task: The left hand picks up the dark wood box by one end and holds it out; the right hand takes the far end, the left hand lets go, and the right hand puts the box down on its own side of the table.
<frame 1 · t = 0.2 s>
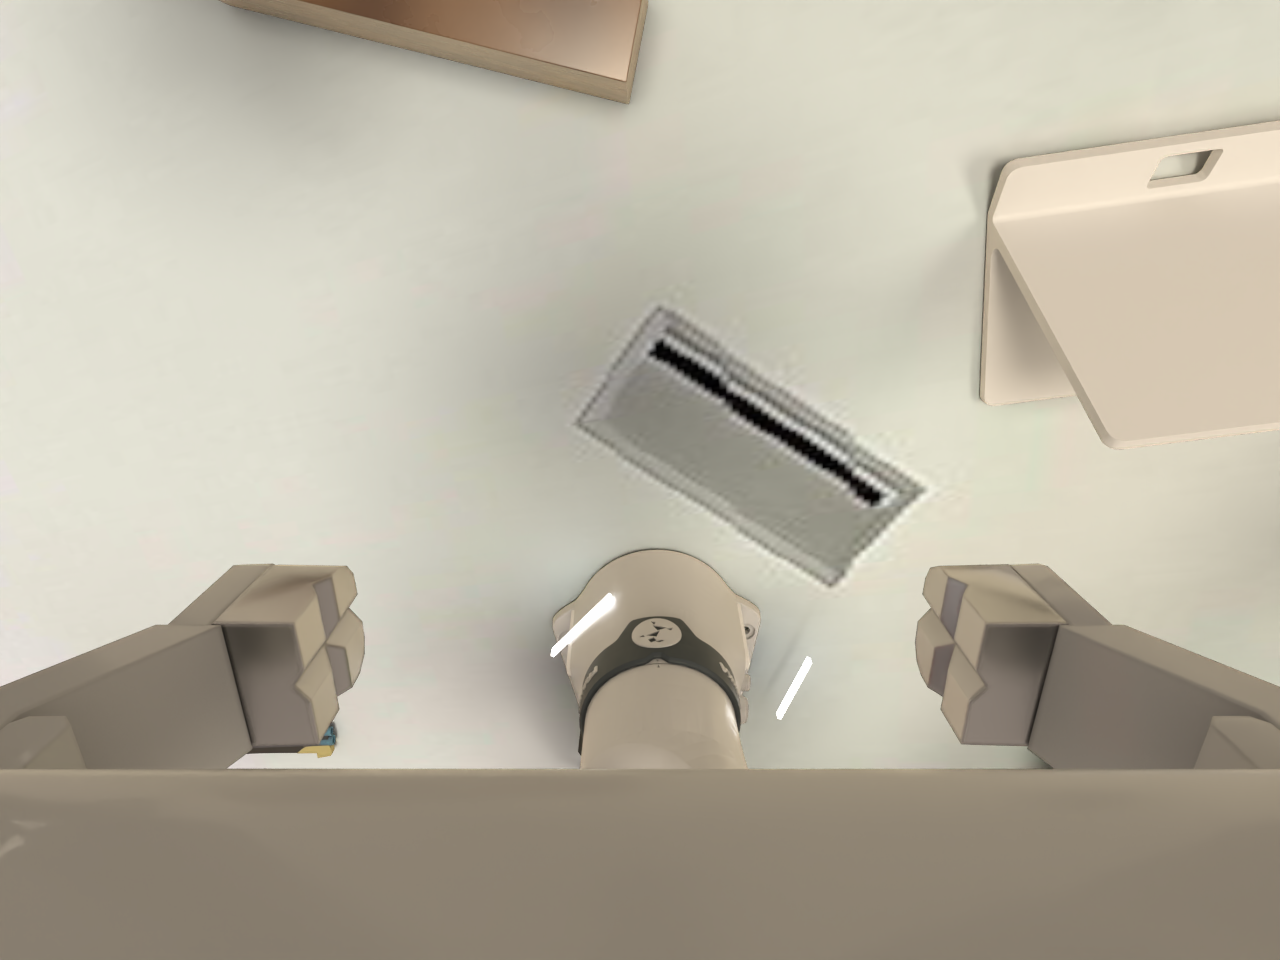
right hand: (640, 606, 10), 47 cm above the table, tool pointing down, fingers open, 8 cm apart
box: (438, 4, 47), on the table
tablet stand: (1151, 267, 54), on the table
toy gun: (234, 704, 69), on the table
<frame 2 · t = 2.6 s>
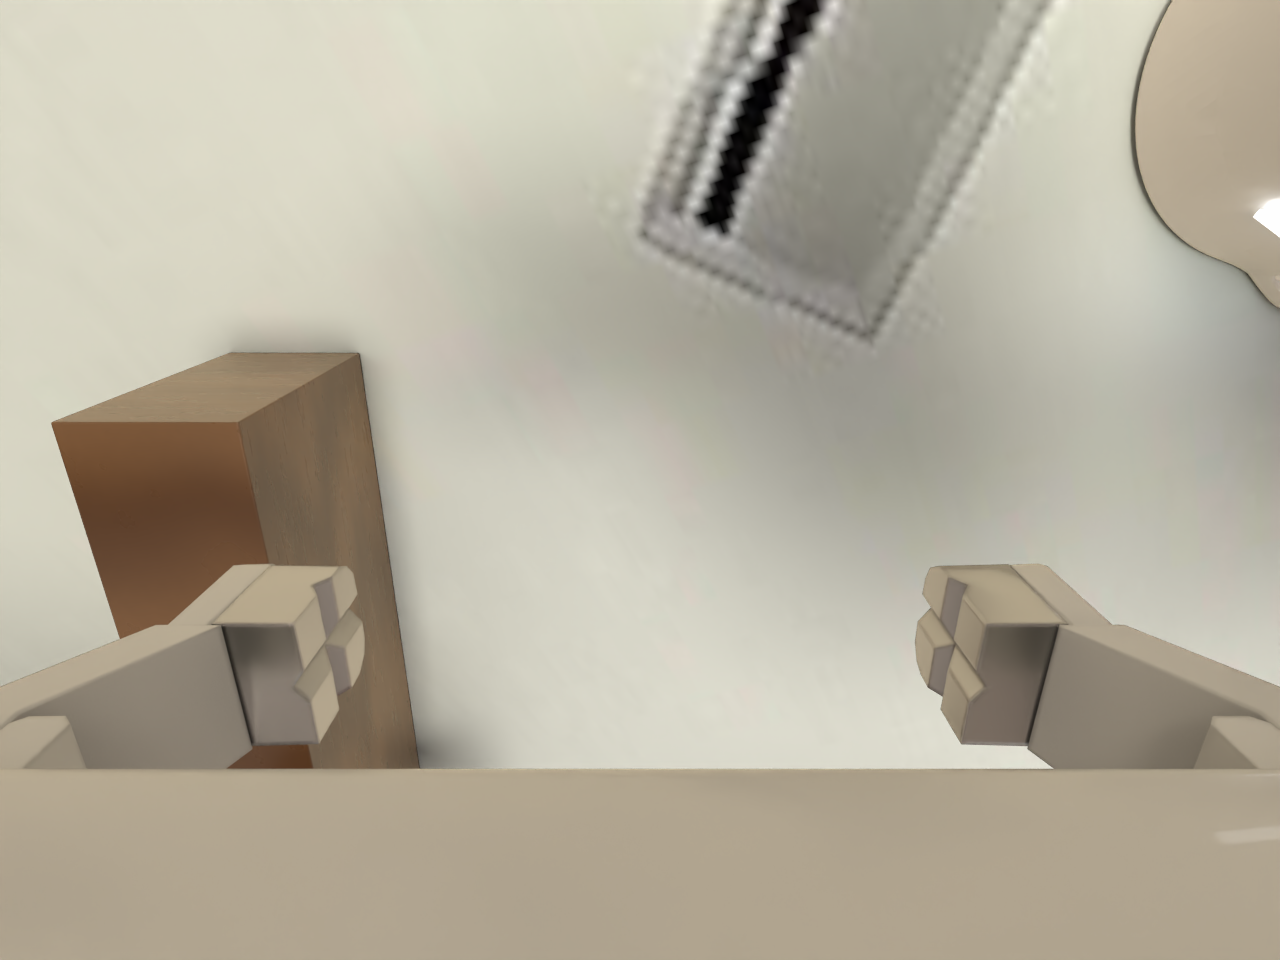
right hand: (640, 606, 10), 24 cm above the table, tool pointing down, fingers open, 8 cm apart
box: (339, 605, 38), on the table, touching left hand
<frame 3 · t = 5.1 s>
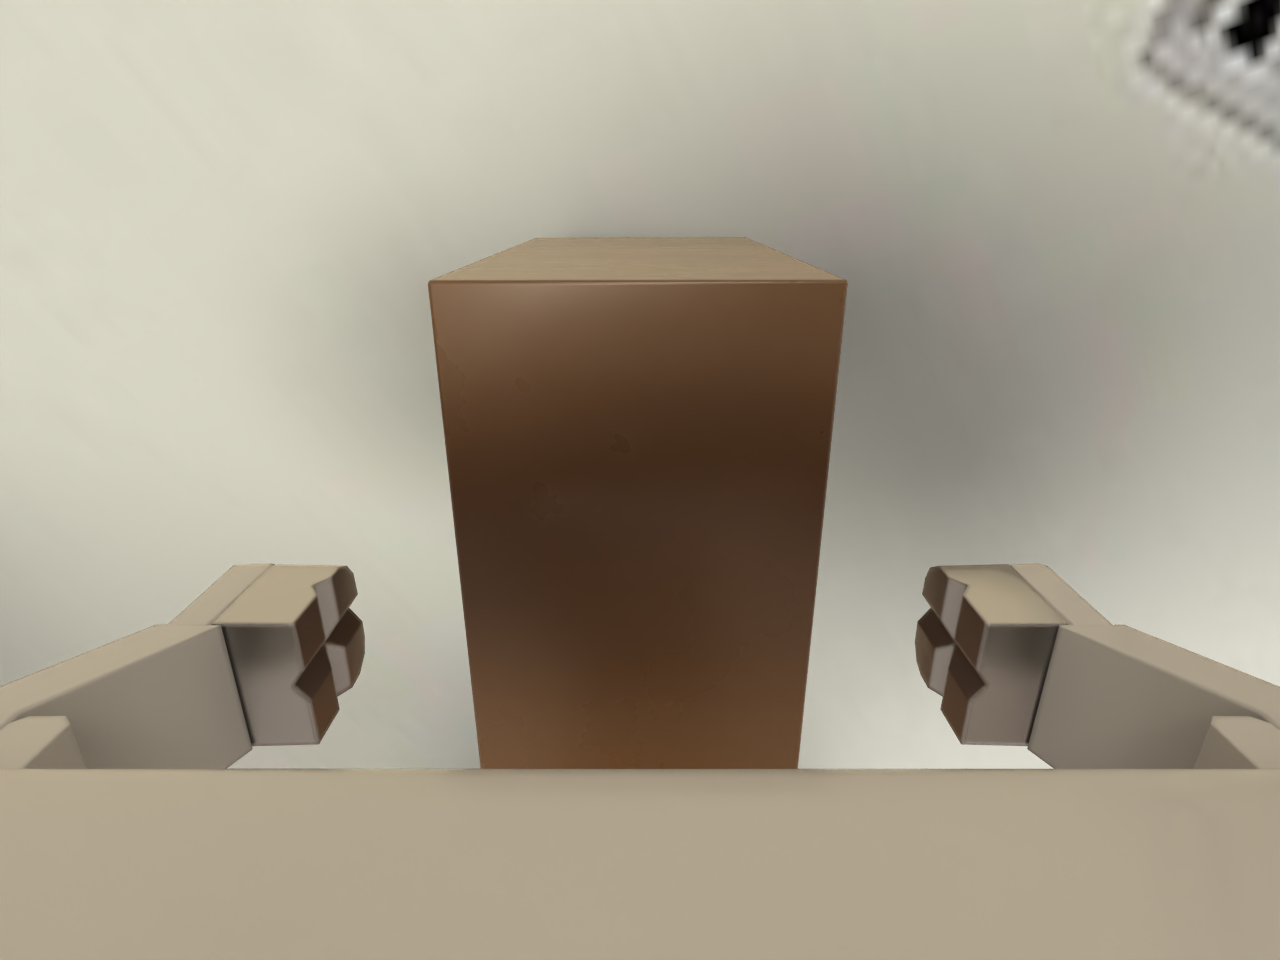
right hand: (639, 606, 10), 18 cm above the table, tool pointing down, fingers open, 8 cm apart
box: (641, 640, 25), point 5 cm above the table, touching left hand
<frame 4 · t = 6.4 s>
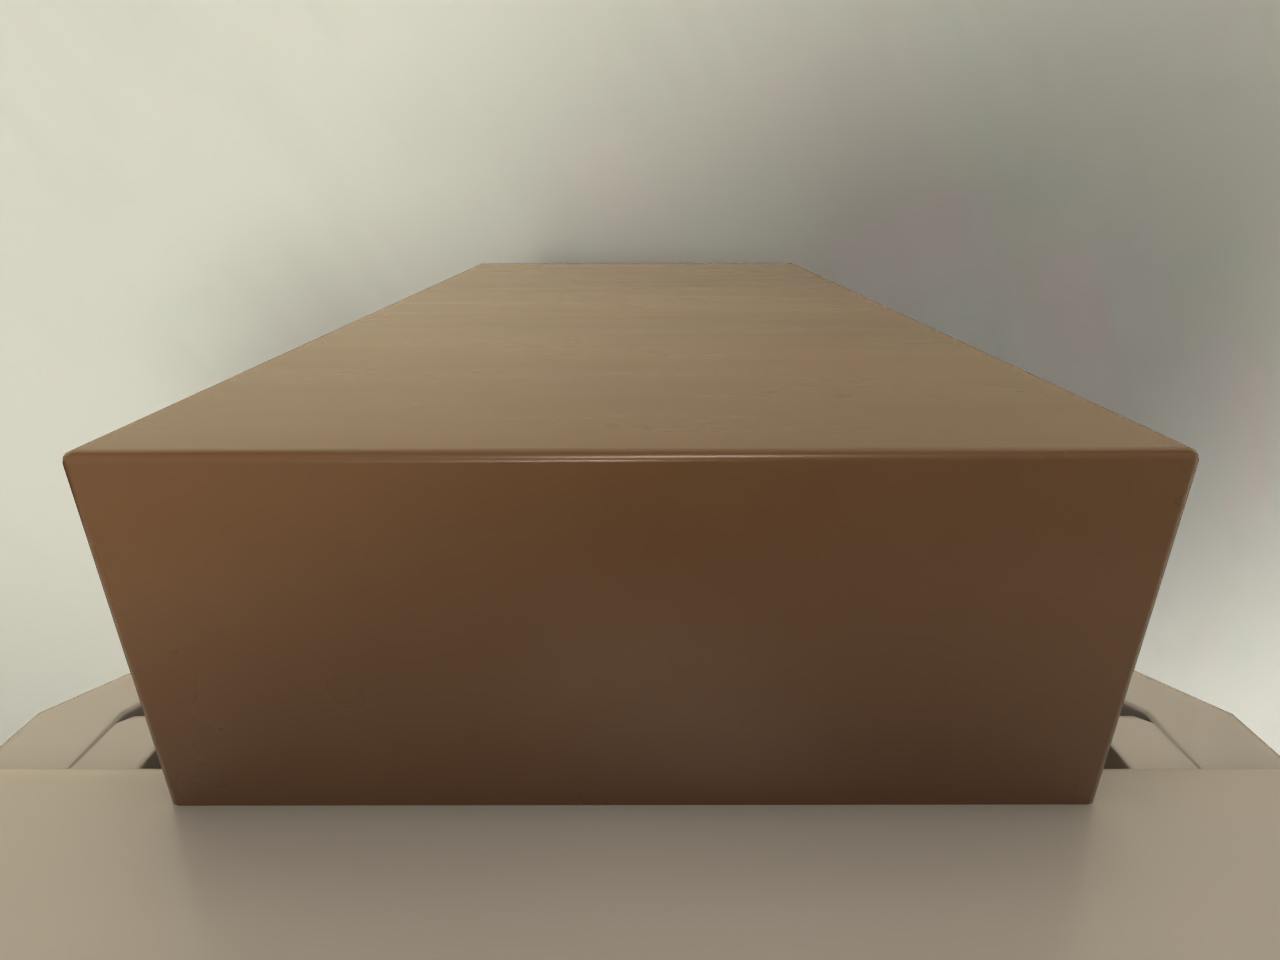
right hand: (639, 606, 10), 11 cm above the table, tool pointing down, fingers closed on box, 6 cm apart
box: (638, 797, 19), point 5 cm above the table, touching right hand, left hand
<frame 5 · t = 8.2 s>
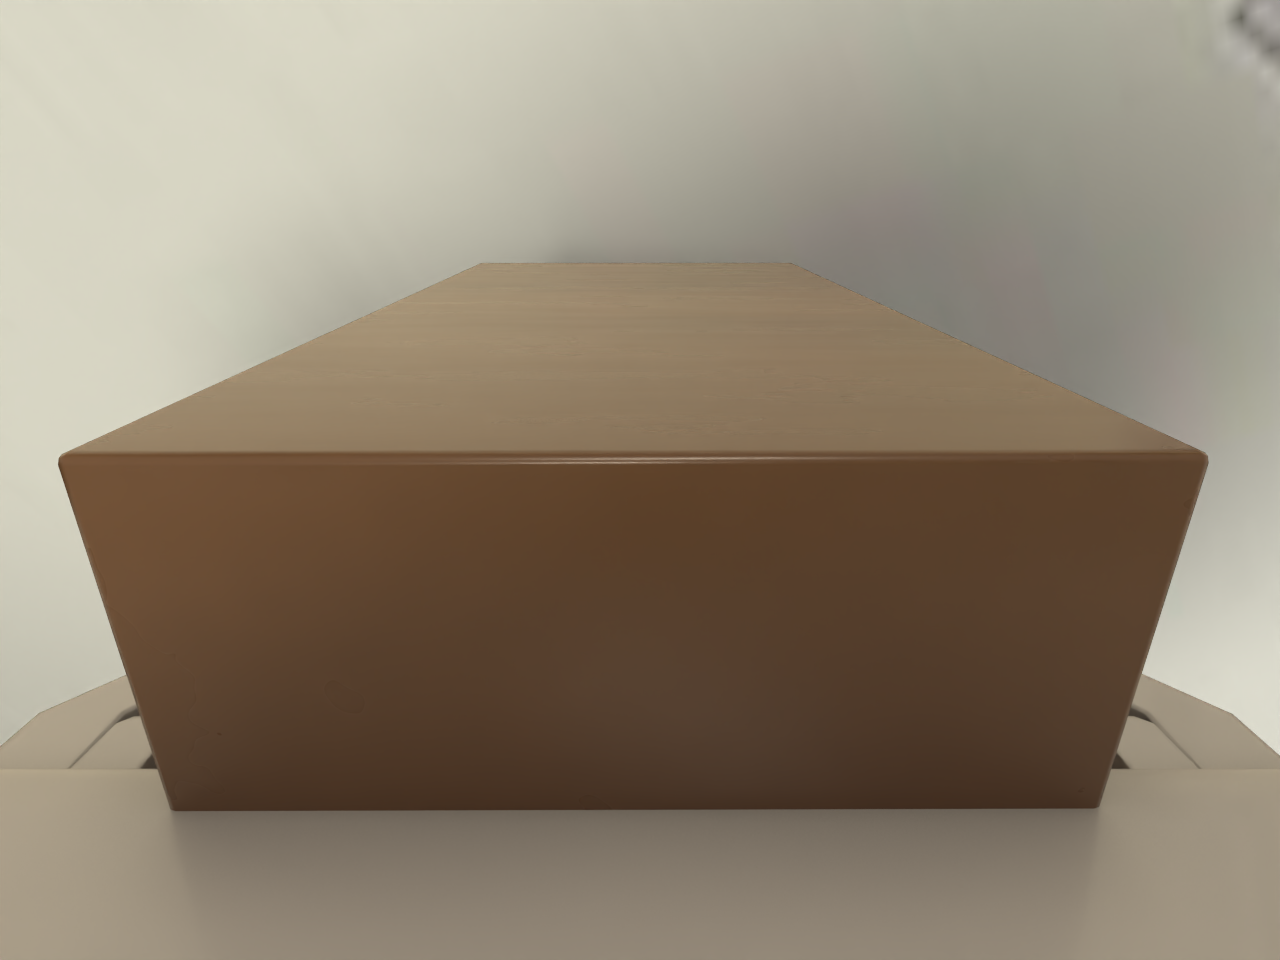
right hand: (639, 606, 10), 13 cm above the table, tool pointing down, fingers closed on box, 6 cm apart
box: (637, 798, 19), point 7 cm above the table, touching right hand
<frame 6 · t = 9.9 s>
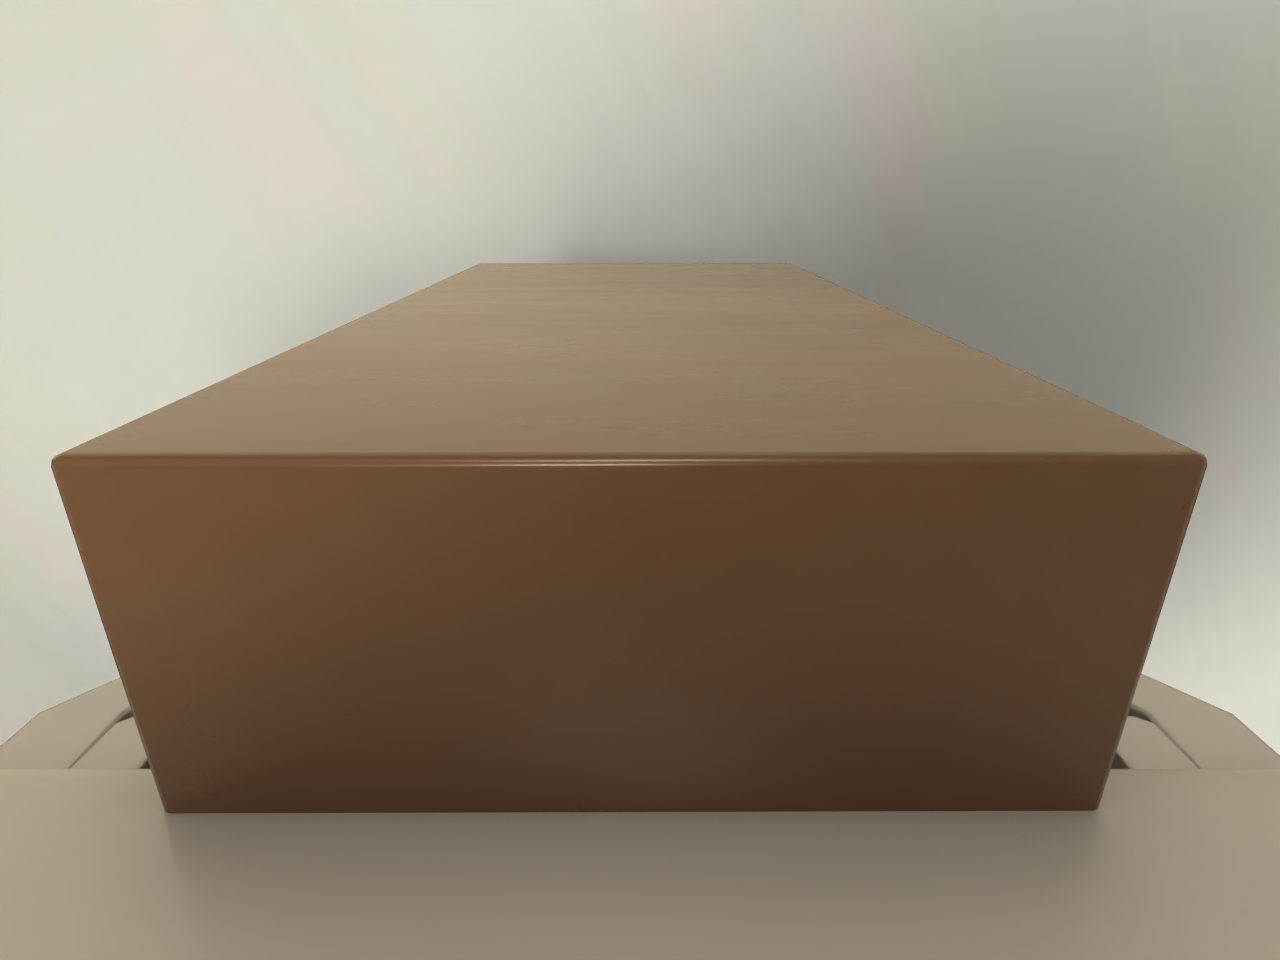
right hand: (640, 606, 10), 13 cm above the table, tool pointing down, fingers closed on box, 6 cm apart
box: (636, 799, 19), point 8 cm above the table, touching right hand
when the right hand's fingers open (7 cm above the table, at t = 13.6 s): box drops 1 cm, on the table.
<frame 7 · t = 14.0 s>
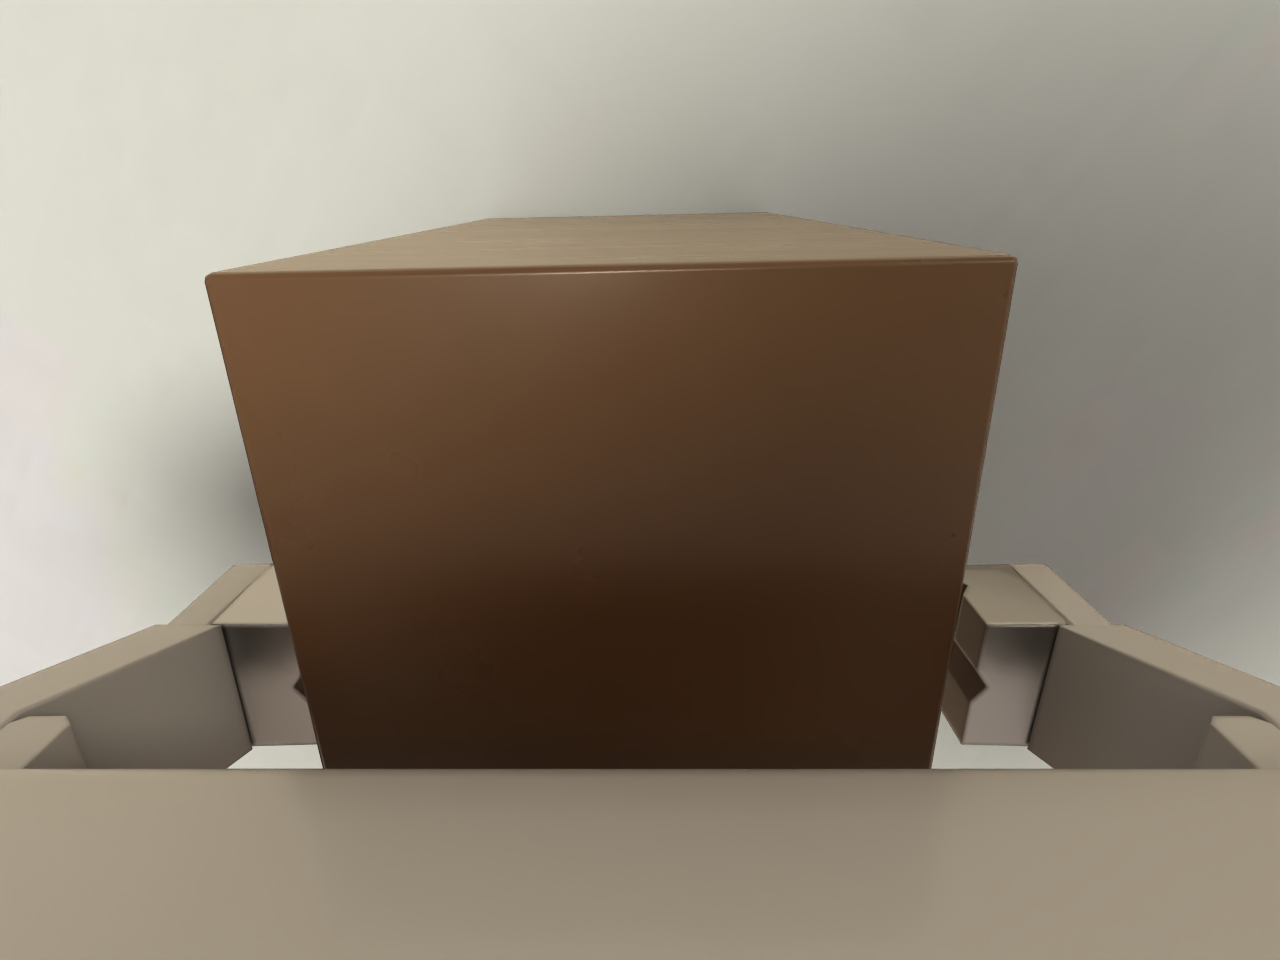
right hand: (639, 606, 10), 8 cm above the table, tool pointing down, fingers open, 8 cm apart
box: (640, 721, 20), on the table
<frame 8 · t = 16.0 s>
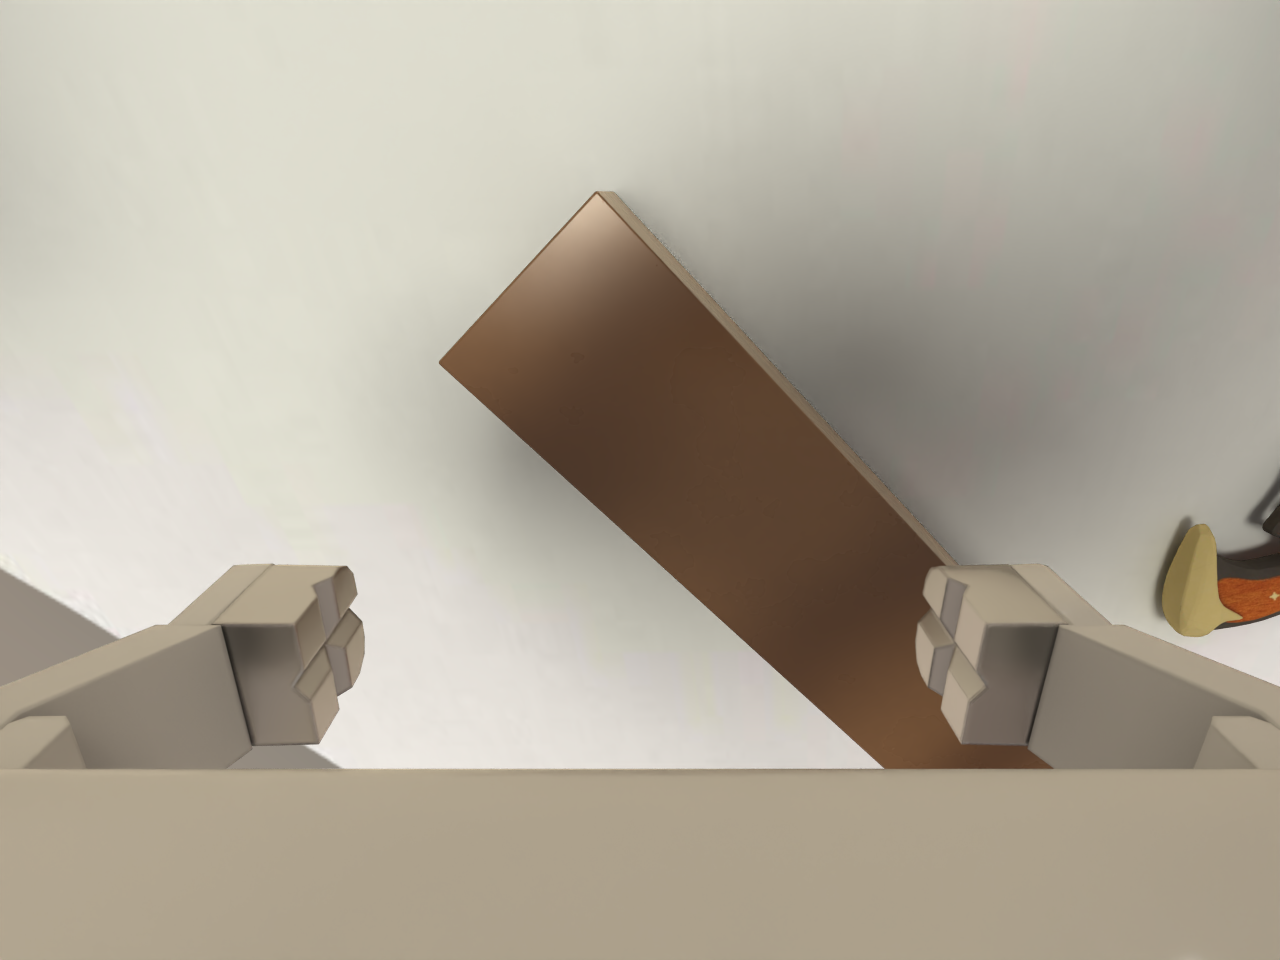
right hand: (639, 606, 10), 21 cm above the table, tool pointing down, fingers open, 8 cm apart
box: (781, 477, 32), on the table
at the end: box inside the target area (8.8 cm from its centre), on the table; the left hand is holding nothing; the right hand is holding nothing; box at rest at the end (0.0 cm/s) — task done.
